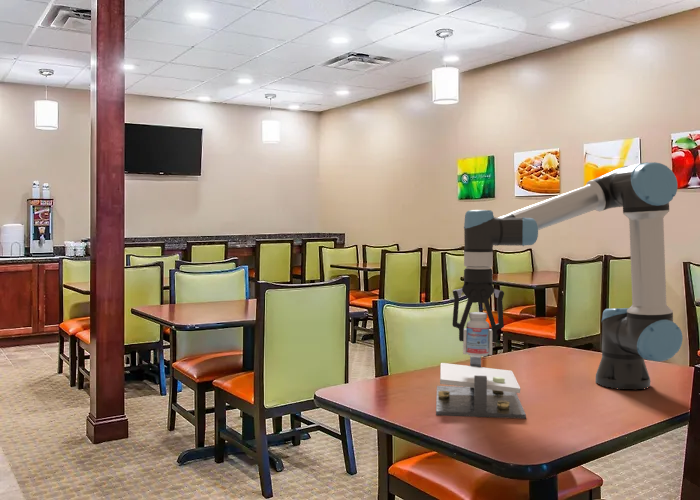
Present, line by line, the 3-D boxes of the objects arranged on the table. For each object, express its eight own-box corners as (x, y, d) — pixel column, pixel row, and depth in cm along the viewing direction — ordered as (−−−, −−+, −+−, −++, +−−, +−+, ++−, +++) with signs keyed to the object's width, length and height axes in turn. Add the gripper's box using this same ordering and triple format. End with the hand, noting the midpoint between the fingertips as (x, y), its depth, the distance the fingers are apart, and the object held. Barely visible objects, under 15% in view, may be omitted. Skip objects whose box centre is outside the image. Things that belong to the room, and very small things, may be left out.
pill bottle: (465, 356, 170) (466, 314, 169) (466, 352, 176) (466, 311, 175) (489, 357, 169) (489, 314, 168) (489, 353, 175) (489, 311, 174)
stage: (511, 374, 182) (511, 367, 182) (520, 394, 160) (521, 386, 160) (440, 366, 185) (441, 359, 185) (440, 384, 163) (440, 377, 163)
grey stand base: (514, 391, 184) (514, 357, 184) (525, 418, 158) (526, 378, 158) (437, 389, 187) (437, 355, 187) (436, 415, 162) (436, 375, 161)
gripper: (513, 267, 174) (512, 352, 175) (442, 266, 177) (441, 350, 177) (516, 269, 166) (515, 357, 167) (442, 268, 169) (441, 355, 170)
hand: (477, 353), depth 172 cm, fingers closed on pill bottle, 6 cm apart
